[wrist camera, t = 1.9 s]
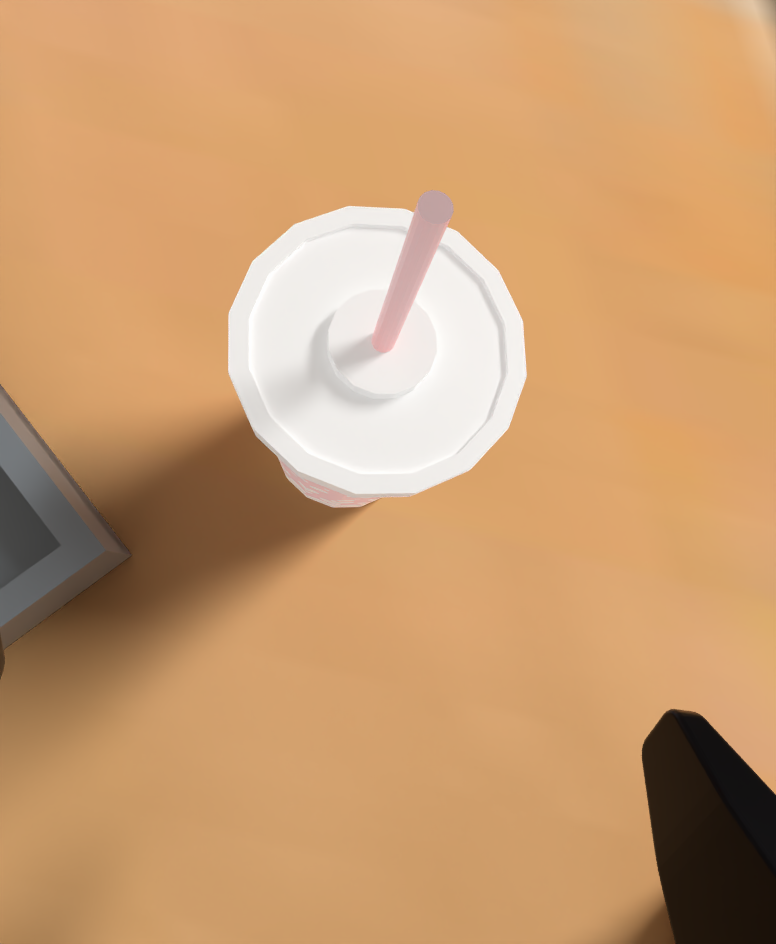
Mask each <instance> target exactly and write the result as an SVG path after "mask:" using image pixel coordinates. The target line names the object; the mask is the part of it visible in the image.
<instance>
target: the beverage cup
mask: <svg viewBox="0 0 776 944" xmlns="http://www.w3.org/2000/svg"><path fill="white" fill-rule="evenodd" d="M452 214H453V204H452V202H451V200H450V198H449V197H448V196H447V195H446V194H445V193H442V192H440V191H433V190H431V191H428V192H425V193H424V194H423V195H422V196H420V198H419V201H418V203H417V206H416V209H415V212H414V213H413V212H411V211H409V210H406V209H395V208H376V207H356V206H347V207H344V208H341V209H338V210H335V211H332V212H329V213H326V214H323V215H320V216H317V217H314V218H311V219H308V220H305V221H303V222H300V223H297V224H294V225H293V226H292V227H291V228H290V229H289V230H288V231H286V232H285V233H284V234H283V235H282V236H281V237H280V238H278V239H277V240H276V241H275V242H274V243H273V244H272V245H270V246H269V247H268V248H267V249H266V250H265V251H264V252H263V253H261V254H260V255H259V256H258V257H257V258H256V259H255V260H253V261H252V263H251V266H250V268H249V270H248V272H247V274H246V277H245V279H244V281H243V283H242V285H241V287H240V290H239V292H238V294H237V296H236V298H235V301H234V303H233V305H232V307H231V309H230V311H229V348H228V372H229V376H230V378H231V381H232V383H233V385H234V388H235V390H236V392H237V395H238V397H239V399H240V401H241V404H242V406H243V408H244V411H245V413H246V415H247V418H248V420H249V422H250V425H251V427H252V429H253V431H254V433H255V435H256V437H257V438H258V439H260V440H261V441H262V442H263V443H264V444H265V445H266V446H267V447H268V448H269V449H270V450H271V451H272V452H273V453H274V454H275V455H276V456H277V457H278V459H279V461H280V464H281V466H282V468H283V470H284V473H285V475H286V477H287V479H288V480H289V481H290V482H291V483H292V484H293V485H294V486H295V487H297V488H298V489H299V490H300V491H301V492H302V493H303V494H304V495H305V496H306V497H307V498H310V499H312V500H315V501H317V502H320V503H323V504H325V505H328V506H330V507H361V506H363V505H366V504H368V503H370V502H372V501H375V500H377V499H379V498H382V497H410V496H412V495H415V494H417V493H420V492H422V491H424V490H426V489H429V488H431V487H433V486H436V485H438V484H440V483H442V482H445V481H447V480H449V479H452V478H454V477H456V476H458V475H461V474H463V473H465V472H467V471H469V470H470V469H471V468H472V467H473V466H474V465H475V464H476V463H477V462H478V461H479V460H480V459H481V457H482V456H483V455H484V454H485V453H486V452H487V451H488V450H489V449H490V448H491V447H492V446H493V444H494V443H495V442H496V441H497V440H498V439H499V438H500V437H501V436H502V435H503V434H504V433H505V431H506V430H507V429H508V428H509V426H510V423H511V420H512V417H513V414H514V411H515V408H516V405H517V402H518V399H519V397H520V394H521V391H522V388H523V385H524V382H525V379H526V376H527V374H526V360H525V346H524V331H523V320H522V318H521V316H520V314H519V312H518V310H517V308H516V306H515V304H514V302H513V300H512V297H511V295H510V293H509V291H508V289H507V287H506V285H505V283H504V281H503V279H502V277H501V275H500V273H499V271H498V270H497V269H496V268H495V267H494V266H493V265H492V264H491V263H490V262H489V261H488V260H487V259H486V258H485V257H484V256H483V255H482V254H481V253H480V252H478V251H477V250H476V249H475V248H474V247H473V246H472V245H471V244H470V243H469V242H468V241H467V240H466V239H465V238H464V237H463V236H462V235H461V234H460V233H459V232H457V231H455V230H453V229H450V228H448V227H447V226H448V223H449V221H450V219H451V216H452Z"/></svg>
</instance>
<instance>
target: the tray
mask: <svg viewBox="0 0 776 944" xmlns="http://www.w3.org/2000/svg"><path fill="white" fill-rule="evenodd" d="M130 556H132V555H131V553H130V552H129V551H128V549H127V548H126V547H125V545H124V544H123V543H122V542H121V540H120V539H119V538H118V536H117V535H116V534H115V532H114V531H113V530H112V529H111V527H110V526H109V525H108V523H107V522H106V521H105V519H104V518H103V517H102V516H101V514H100V513H99V512H98V510H97V509H96V508H95V506H94V505H93V504H92V503H91V501H90V500H89V499H88V497H87V496H86V495H85V494H84V492H83V491H82V490H81V488H80V487H79V486H78V484H77V483H76V482H75V481H74V479H73V478H72V477H71V475H70V474H69V473H68V471H67V470H66V469H65V468H64V466H63V465H62V464H61V462H60V461H59V460H58V458H57V457H56V456H55V455H54V453H53V452H52V451H51V449H50V448H49V447H48V445H47V444H46V443H45V442H44V440H43V439H42V438H41V436H40V435H39V434H38V432H37V431H36V430H35V429H34V427H33V426H32V425H31V423H30V422H29V421H28V420H27V418H26V417H25V416H24V414H23V413H22V412H21V410H20V409H19V408H18V407H17V405H16V404H15V403H14V401H13V400H12V399H11V397H10V396H9V395H8V394H7V392H6V391H5V390H4V388H3V387H2V386H1V384H0V634H1V639H2V645H3V650H4V649H5V648H7V647H8V646H9V645H11V644H12V643H13V642H15V641H16V640H17V639H19V638H20V637H21V636H23V635H24V634H26V633H27V632H28V631H30V630H31V629H32V628H34V627H35V626H36V625H38V624H39V623H41V622H42V621H43V620H45V619H46V618H47V617H49V616H50V615H51V614H53V613H54V612H55V611H57V610H58V609H60V608H61V607H62V606H64V605H65V604H66V603H68V602H69V601H70V600H72V599H73V598H74V597H76V596H77V595H79V594H80V593H81V592H83V591H84V590H85V589H87V588H88V587H89V586H91V585H92V584H94V583H95V582H96V581H98V580H99V579H100V578H102V577H103V576H104V575H106V574H107V573H108V572H110V571H111V570H113V569H114V568H115V567H117V566H118V565H119V564H121V563H122V562H123V561H125V560H126V559H127V558H129V557H130Z"/></svg>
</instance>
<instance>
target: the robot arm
mask: <svg viewBox="0 0 776 944" xmlns="http://www.w3.org/2000/svg"><path fill="white" fill-rule="evenodd" d="M4 664H5V656H4V650H3V645H2V639H1V634H0V679H1V676H2V673H3V669H4ZM642 763H643V770H644V777H645V784H646V791H647V798H648V806H649V813H650V820H651V827H652V834H653V841H654V849H655V855H656V861H657V866H658V872H659V876H660V881H661V885H662V890H663V894H664V898H665V902H666V906H667V911H668V915H669V919H670V923H671V927H672V931H673V935H674V940H675V944H776V795H775V793H774V792H773V791H772V790H771V789H770V788H769V787H768V786H767V785H766V784H765V783H764V782H763V781H762V779H761V778H760V777H759V776H758V775H757V774H756V773H755V772H754V771H753V770H752V769H751V768H750V767H749V765H748V764H747V763H746V762H745V761H744V760H743V759H742V758H741V757H740V756H739V755H738V754H737V753H736V751H735V750H734V749H733V748H732V747H731V746H730V745H729V744H728V743H727V742H726V741H725V740H724V739H723V738H722V736H721V735H720V734H719V733H718V732H717V731H716V730H715V729H714V728H713V727H712V726H711V725H710V724H709V722H708V721H707V720H706V719H705V718H704V717H702V716H701V715H700V714H698V713H696V712H692V711H684V710H677V709H671V710H668V711H667V712H665V714H664V715H663V716H662V717H661V719H660V720H659V721H658V723H657V724H656V726H655V727H654V728H653V730H652V731H651V732H650V734H649V735H648V736H647V738H646V739H645V741H644V744H643V748H642Z"/></svg>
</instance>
